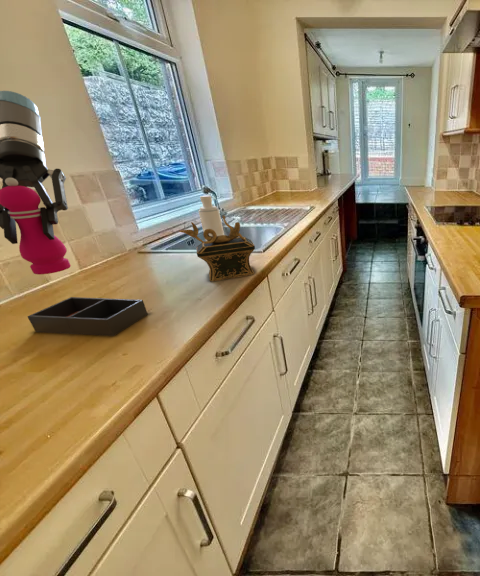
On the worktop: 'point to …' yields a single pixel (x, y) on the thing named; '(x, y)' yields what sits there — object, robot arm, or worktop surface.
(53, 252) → the pepper mill
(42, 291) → the worktop surface
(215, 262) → the decorative box
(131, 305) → the divided tray
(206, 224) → the cream bottle
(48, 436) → the worktop surface
